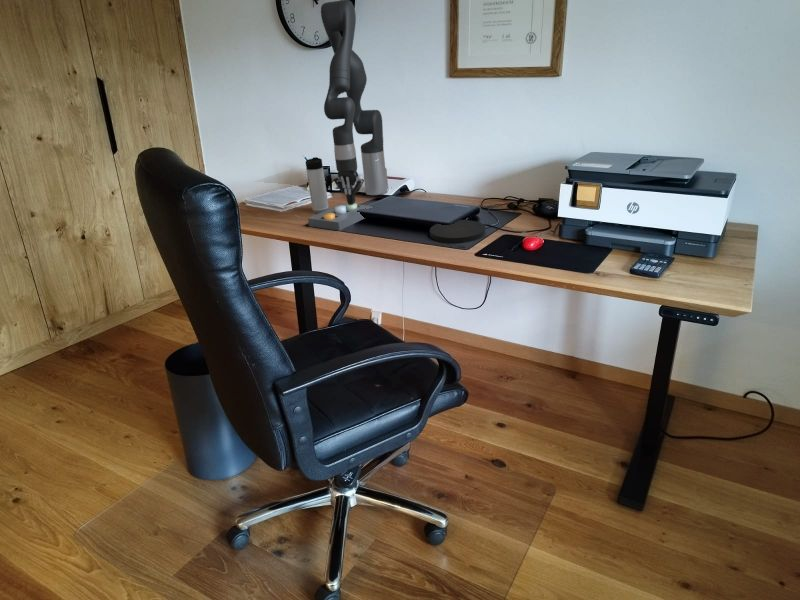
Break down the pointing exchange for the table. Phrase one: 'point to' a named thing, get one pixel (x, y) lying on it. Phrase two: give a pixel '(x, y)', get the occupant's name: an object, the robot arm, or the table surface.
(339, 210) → the blue-grey button
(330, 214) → the orange button
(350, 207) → the sage button
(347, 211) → the button panel
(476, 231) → the wireless charger
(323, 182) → the travel mug
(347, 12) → the robot arm
